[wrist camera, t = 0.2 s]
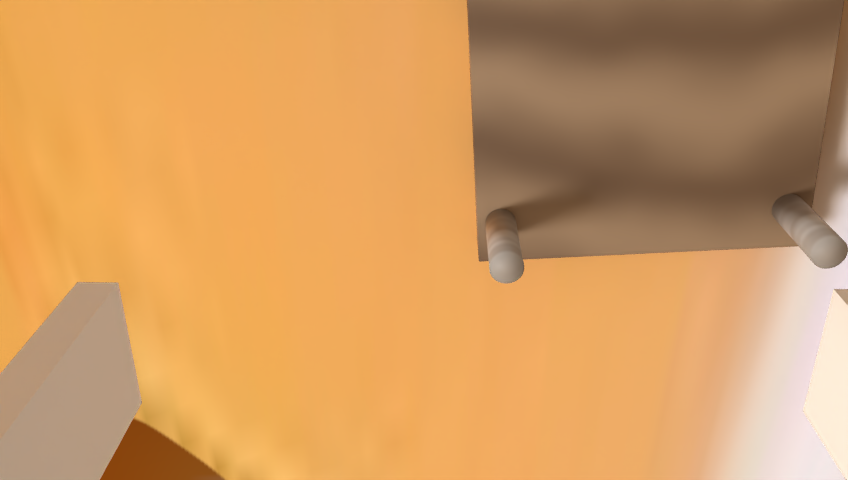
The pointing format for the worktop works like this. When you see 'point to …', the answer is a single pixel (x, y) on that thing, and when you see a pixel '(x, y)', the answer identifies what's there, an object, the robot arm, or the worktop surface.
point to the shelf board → (649, 127)
